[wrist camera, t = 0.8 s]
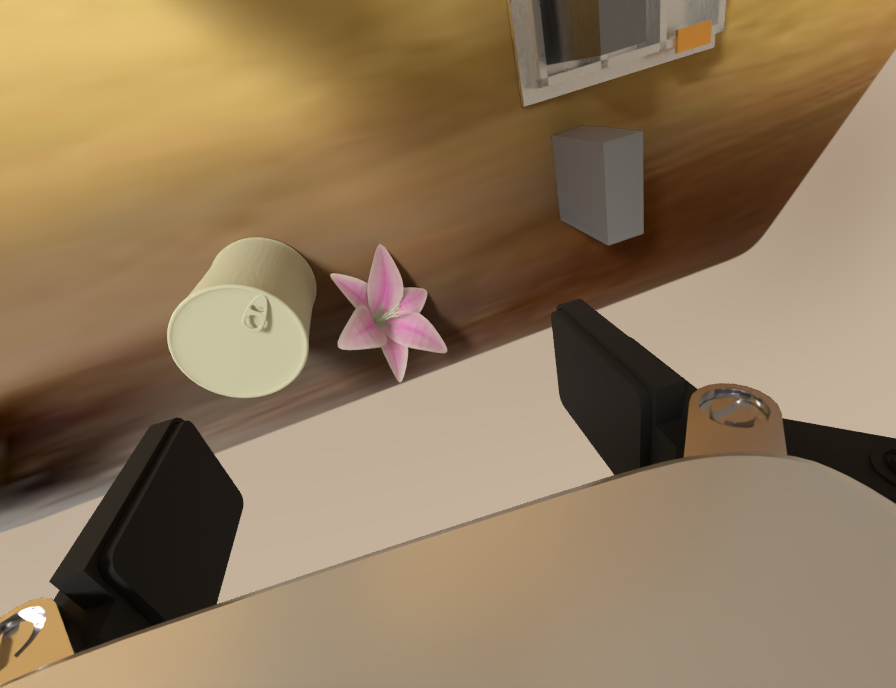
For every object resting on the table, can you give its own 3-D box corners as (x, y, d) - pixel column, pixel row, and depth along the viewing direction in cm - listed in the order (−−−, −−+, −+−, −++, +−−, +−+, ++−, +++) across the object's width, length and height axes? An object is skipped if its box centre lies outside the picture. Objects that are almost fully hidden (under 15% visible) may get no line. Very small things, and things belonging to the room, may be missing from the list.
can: (332, 264, 40) (329, 319, 30) (295, 342, 43) (281, 417, 33) (229, 218, 36) (186, 263, 26) (196, 307, 39) (146, 379, 29)
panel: (551, 135, 39) (603, 143, 31) (583, 125, 39) (643, 130, 31) (560, 220, 43) (608, 245, 35) (589, 210, 43) (643, 233, 35)
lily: (437, 340, 48) (482, 342, 39) (346, 396, 43) (374, 412, 35) (389, 241, 45) (425, 220, 36) (285, 290, 40) (300, 279, 32)
